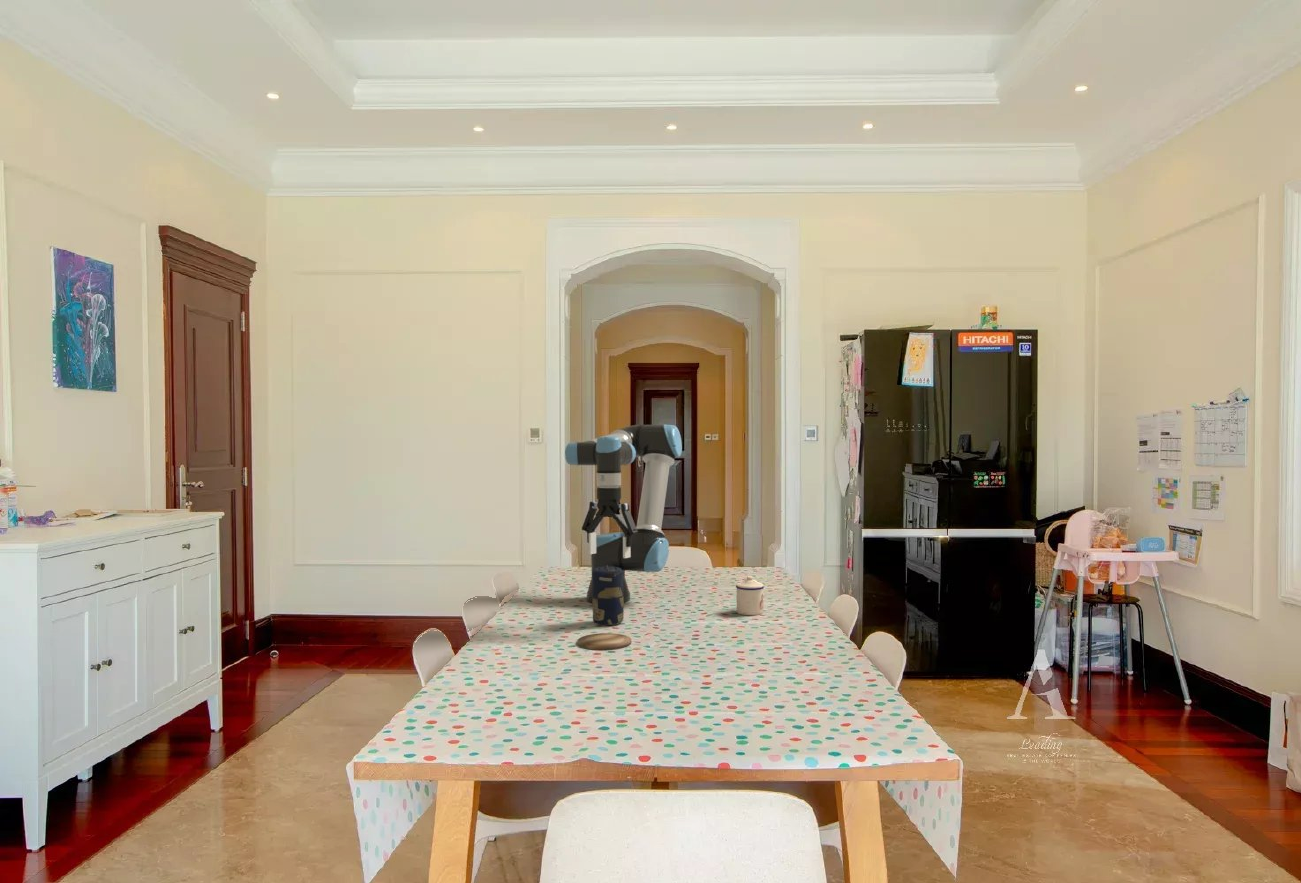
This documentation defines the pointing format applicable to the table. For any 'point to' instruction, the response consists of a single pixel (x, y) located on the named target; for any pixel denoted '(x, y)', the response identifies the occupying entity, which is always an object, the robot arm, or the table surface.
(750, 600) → the teacup with lid
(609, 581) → the canister
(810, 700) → the table surface
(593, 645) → the brown plate
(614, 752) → the table surface
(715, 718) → the table surface
